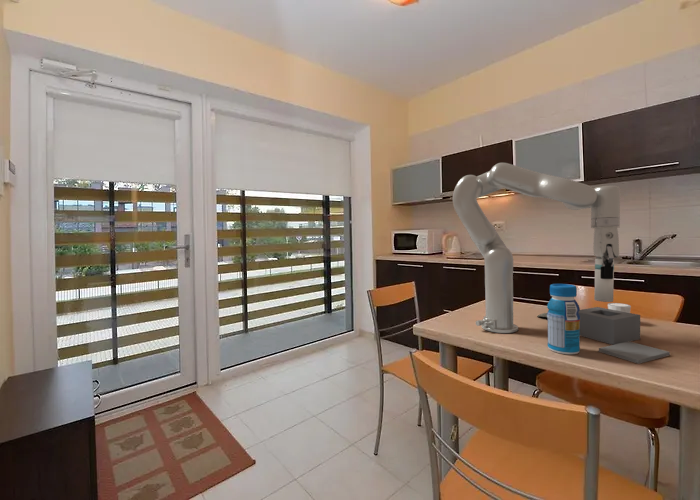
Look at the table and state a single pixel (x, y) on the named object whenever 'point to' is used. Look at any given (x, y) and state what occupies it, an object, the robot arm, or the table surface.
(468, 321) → the table surface
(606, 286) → the cylinder
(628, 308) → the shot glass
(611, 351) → the rubber mat
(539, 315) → the soupspoon
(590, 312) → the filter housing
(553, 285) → the beverage bottle
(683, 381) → the table surface
